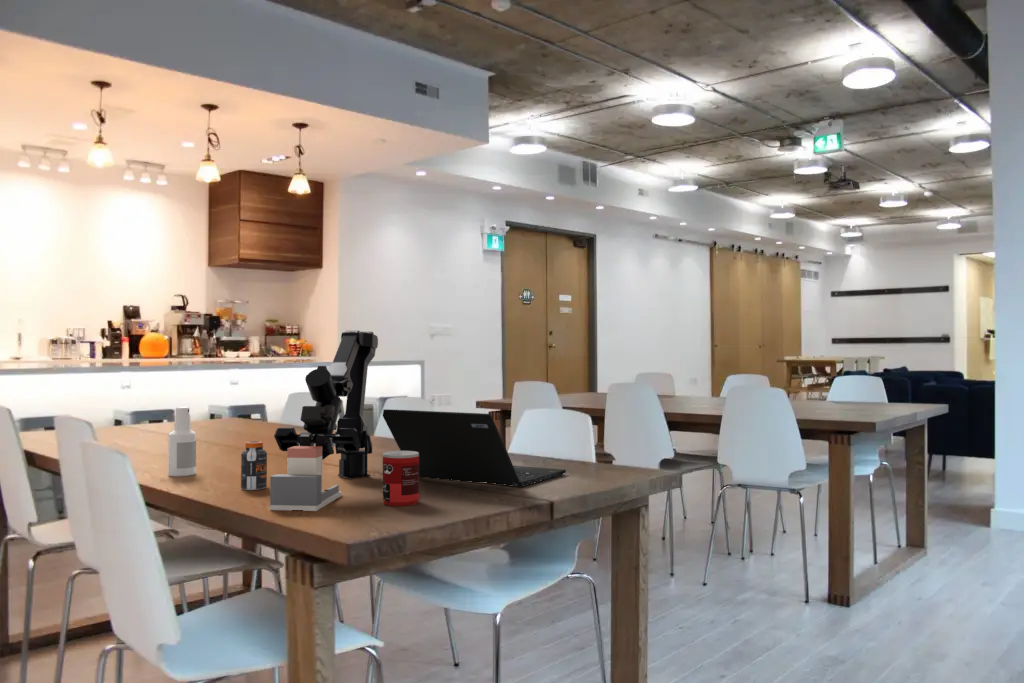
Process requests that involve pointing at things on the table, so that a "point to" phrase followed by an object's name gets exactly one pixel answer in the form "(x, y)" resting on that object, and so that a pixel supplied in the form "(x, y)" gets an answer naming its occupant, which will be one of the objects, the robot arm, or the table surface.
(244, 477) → the pill bottle
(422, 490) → the table surface
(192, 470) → the spray bottle
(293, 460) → the cream and pink block
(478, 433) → the laptop
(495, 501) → the table surface
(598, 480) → the table surface
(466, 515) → the table surface
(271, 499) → the grey and white holder
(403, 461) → the canned food
